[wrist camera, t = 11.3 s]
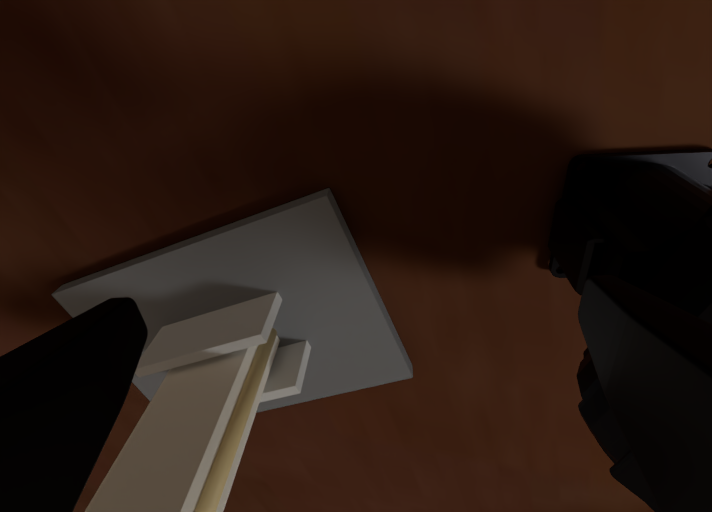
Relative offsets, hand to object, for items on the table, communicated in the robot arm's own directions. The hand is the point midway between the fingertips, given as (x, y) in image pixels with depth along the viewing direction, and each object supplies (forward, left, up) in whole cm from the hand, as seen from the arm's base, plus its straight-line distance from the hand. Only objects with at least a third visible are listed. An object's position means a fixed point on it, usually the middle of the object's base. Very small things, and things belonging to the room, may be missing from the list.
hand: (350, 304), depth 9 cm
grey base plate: (+9, +12, -13) cm, 20 cm away
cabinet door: (+9, +12, -12) cm, 19 cm away
